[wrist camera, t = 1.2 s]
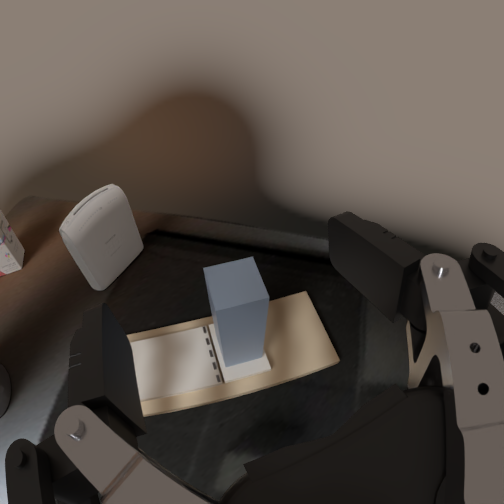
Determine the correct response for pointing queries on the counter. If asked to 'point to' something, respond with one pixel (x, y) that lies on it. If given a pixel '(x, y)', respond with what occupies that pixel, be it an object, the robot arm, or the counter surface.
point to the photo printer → (102, 236)
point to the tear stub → (238, 318)
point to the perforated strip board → (207, 365)
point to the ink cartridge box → (9, 249)
